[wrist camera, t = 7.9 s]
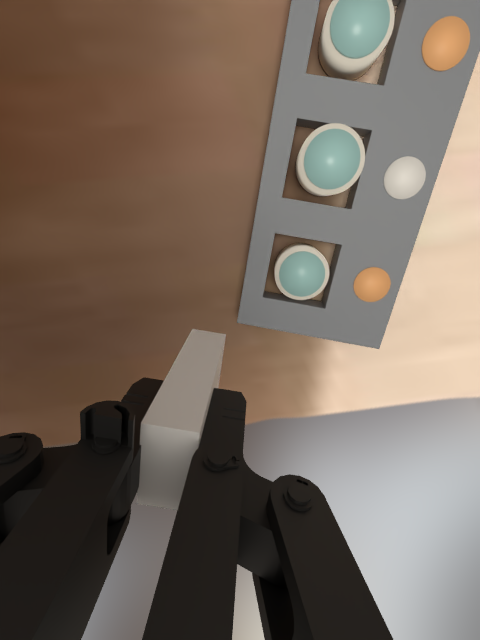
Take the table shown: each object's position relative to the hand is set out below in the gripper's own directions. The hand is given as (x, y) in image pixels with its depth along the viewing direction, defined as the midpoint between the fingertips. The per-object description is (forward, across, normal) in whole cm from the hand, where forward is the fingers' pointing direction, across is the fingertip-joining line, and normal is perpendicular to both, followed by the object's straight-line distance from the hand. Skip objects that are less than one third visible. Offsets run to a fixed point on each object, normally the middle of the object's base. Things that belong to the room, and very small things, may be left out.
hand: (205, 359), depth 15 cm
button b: (+17, +6, +11) cm, 21 cm away
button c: (+19, +6, +20) cm, 28 cm away
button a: (+19, +6, +2) cm, 20 cm away
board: (+19, +8, +10) cm, 23 cm away
